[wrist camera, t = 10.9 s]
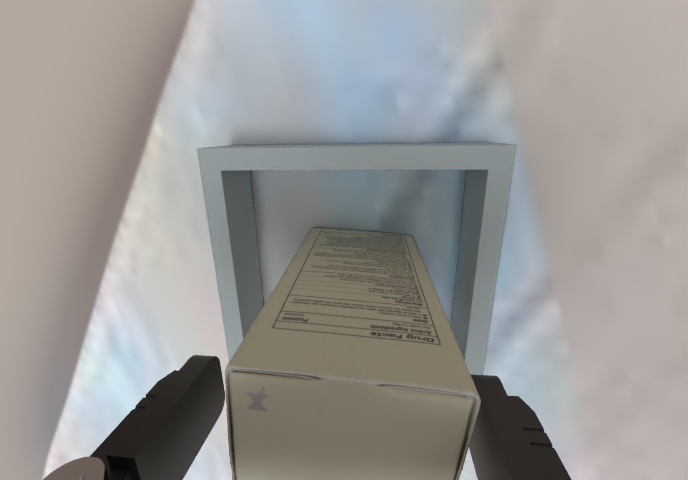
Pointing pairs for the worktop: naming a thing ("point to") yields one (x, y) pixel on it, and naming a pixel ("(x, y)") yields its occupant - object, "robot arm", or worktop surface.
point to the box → (477, 158)
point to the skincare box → (350, 370)
